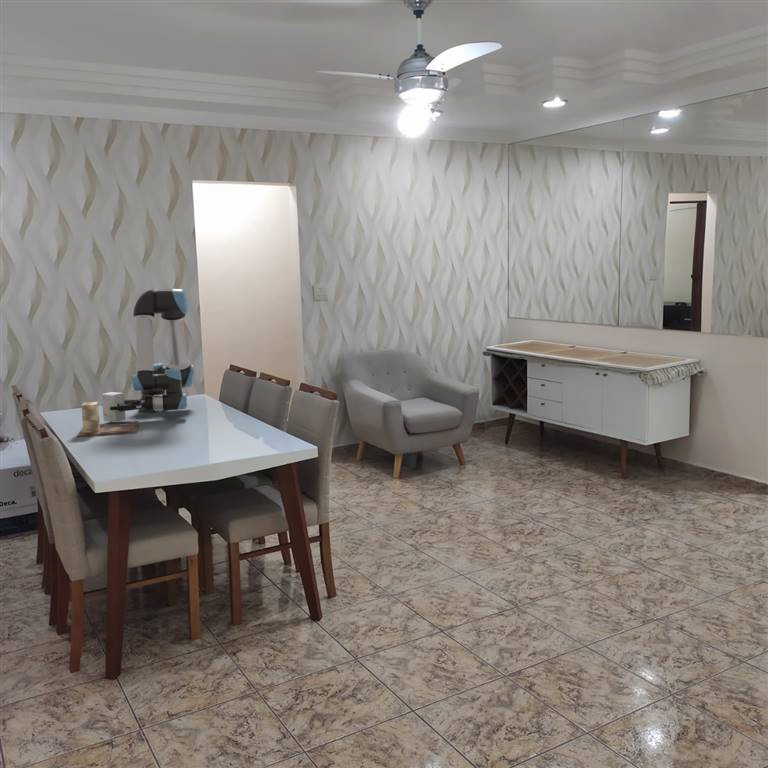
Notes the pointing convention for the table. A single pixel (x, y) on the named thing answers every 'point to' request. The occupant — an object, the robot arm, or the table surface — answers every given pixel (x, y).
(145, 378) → the robot arm
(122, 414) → the small box
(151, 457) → the table surface
